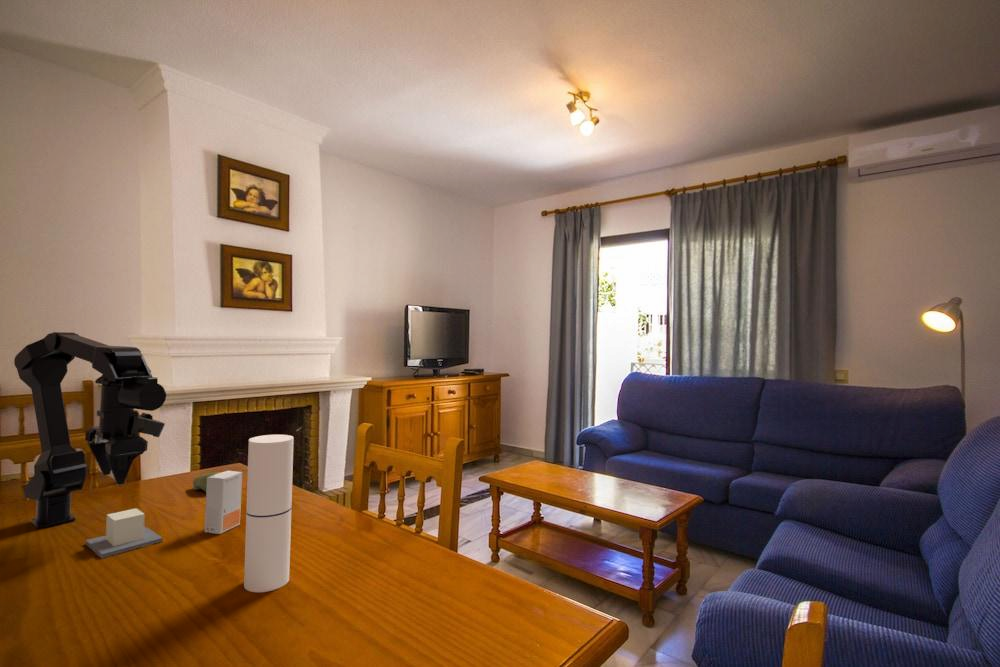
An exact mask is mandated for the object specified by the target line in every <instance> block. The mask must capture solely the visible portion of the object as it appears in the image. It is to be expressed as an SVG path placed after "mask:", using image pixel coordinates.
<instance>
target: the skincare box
mask: <svg viewBox="0 0 1000 667" xmlns="http://www.w3.org/2000/svg"><path fill="white" fill-rule="evenodd" d="M217 473H218V474H215V475H213V476H210V477H207V489H206V492H205V494H206V495H205V515H204V533H207V532H209V533H208V534H216V535H221V534H223V533H225V532H227V531H229V530H231V529H233V528H235V527H238V526H239V525H240V524H241V509H242V508H241V506H242V486H243V484H242V483H243V472H242V471H236V470H235V471H234V470H233V471H232V470H226V471H223V472H217Z"/></svg>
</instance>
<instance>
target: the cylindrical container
mask: <svg viewBox="0 0 1000 667" xmlns="http://www.w3.org/2000/svg"><path fill="white" fill-rule="evenodd" d="M294 441H295V440H294V436H293V435H290V434H289V435H288V434H266V435H265V434H264V435H258V436H254V437H250V438H249V439H248V451H247V452H248V453H247V454H248V455H247V478H246V480H247V485H246V486H247V487H246V512H245V513H246V517H245V544H244V546H245V548H244V574H243V575H244V577H243V587H244V589H245V590H246V591H248V592H250V593H251V592H252V593H266V592H271V591H275V590H277V589H280V588H282V587H284V586H285V585H286V584H288V582H289V581H290V567H291V566H290V562H291V560H290V559H291V538H292V537H291V535H292V534H291V531H292V530H291V529H292V528H291V527H292V506H293V505H292V502H293V501H292V500H293V497H292V496H293V471H294V470H293V466H294Z"/></svg>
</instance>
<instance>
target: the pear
mask: <svg viewBox="0 0 1000 667" xmlns="http://www.w3.org/2000/svg"><path fill="white" fill-rule="evenodd" d="M218 473H219V472H208V473H204V474H200V475H197V477H195V478H194V479H193V481H192V486H193V488H192V489H193V491H198V490H203V492H205V493H206V489H207V477H210V476H213V475H215V474H218Z"/></svg>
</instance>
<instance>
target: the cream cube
mask: <svg viewBox="0 0 1000 667" xmlns="http://www.w3.org/2000/svg"><path fill="white" fill-rule="evenodd" d="M105 521H106V524H105V525H106V526H105V528H106V529H105V535H106V540H107V541H108V542H109V543H111V544H112V545H113V546H117V545H121V544H124V543H128V542H132V541H136V540H140V539H144V526H145V513H144V512H142V511H141V510H140V509H139V508H137V507H136V508H131V509H127V510H122V511H121V510H120V511H117V512H113V513H108V514H106V520H105Z"/></svg>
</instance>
